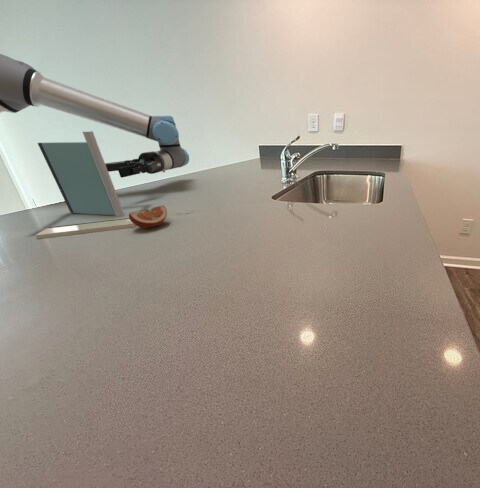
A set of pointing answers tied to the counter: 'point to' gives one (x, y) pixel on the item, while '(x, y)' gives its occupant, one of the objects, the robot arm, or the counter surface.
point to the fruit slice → (149, 217)
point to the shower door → (77, 177)
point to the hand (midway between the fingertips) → (101, 172)
